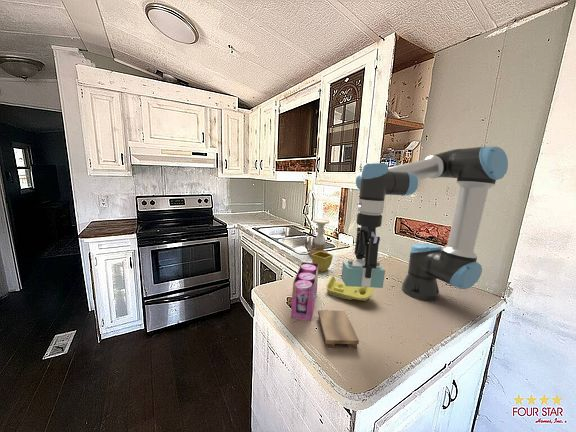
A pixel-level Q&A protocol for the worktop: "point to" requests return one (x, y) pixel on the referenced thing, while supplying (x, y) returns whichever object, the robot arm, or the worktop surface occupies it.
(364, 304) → the worktop surface
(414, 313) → the worktop surface
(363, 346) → the worktop surface
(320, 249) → the candle holder
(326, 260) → the flower pot
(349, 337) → the stand
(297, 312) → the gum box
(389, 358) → the worktop surface
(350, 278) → the housing
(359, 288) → the plastic component
